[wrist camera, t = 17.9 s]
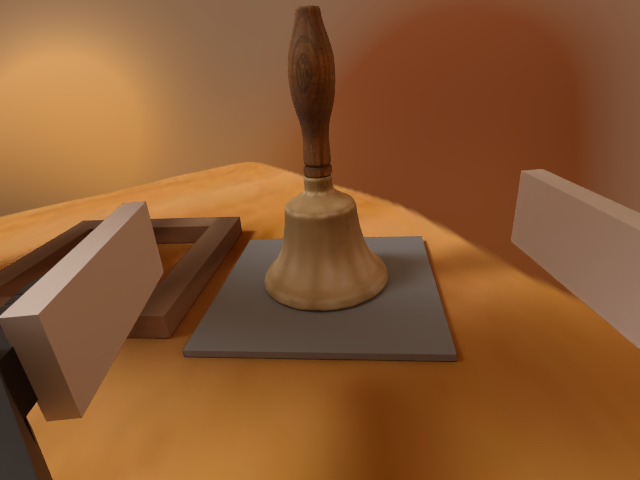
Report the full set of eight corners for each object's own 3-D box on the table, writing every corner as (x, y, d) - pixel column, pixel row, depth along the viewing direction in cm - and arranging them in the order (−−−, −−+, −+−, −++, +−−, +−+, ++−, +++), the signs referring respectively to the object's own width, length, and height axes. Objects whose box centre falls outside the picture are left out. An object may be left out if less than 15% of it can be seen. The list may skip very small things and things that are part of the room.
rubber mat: (184, 356, 22) (182, 350, 21) (251, 243, 34) (250, 239, 34) (456, 361, 20) (456, 354, 20) (421, 240, 33) (421, 236, 32)
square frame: (-63, 335, 25) (-74, 315, 24) (88, 235, 39) (83, 220, 38) (169, 338, 23) (163, 316, 23) (242, 232, 37) (239, 216, 36)
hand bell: (256, 261, 30) (220, 18, 24) (361, 242, 32) (354, 11, 25) (276, 325, 23) (230, -2, 16) (410, 295, 25) (419, -10, 18)
